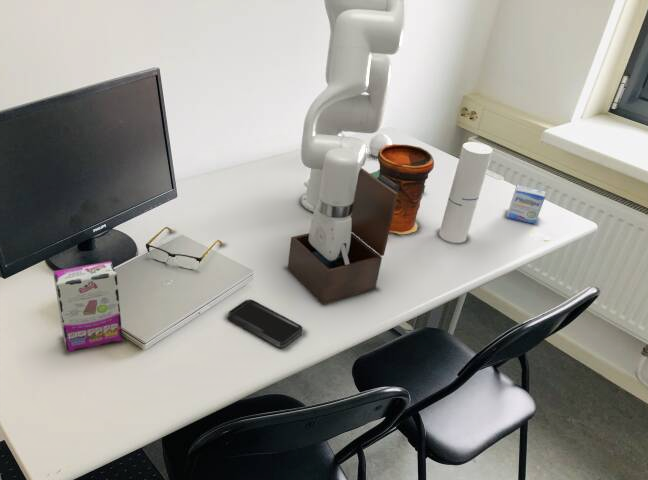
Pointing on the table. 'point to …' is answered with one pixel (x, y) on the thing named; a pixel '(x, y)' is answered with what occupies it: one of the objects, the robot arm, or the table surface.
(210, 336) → the table surface
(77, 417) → the table surface
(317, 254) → the block
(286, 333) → the phone
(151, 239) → the eyeglasses
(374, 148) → the white rounded piece
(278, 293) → the table surface
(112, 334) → the candy bar box
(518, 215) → the medicine box
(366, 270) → the chest
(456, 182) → the cylindrical container
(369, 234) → the lid
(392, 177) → the vessel
